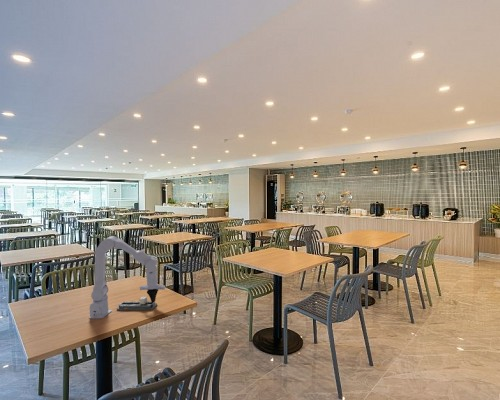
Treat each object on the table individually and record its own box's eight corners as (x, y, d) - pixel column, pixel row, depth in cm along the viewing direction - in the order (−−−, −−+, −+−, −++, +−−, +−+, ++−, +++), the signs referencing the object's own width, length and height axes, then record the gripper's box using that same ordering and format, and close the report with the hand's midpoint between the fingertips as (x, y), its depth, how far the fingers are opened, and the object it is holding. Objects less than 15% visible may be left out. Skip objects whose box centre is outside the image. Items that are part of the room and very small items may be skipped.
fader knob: (144, 306, 162) (144, 298, 162) (139, 306, 163) (139, 298, 162) (147, 304, 166) (147, 296, 166) (142, 304, 166) (142, 296, 166)
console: (151, 310, 160) (151, 306, 160) (116, 310, 162) (116, 306, 162) (157, 305, 168) (157, 300, 168) (123, 305, 170) (123, 300, 170)
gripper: (166, 276, 167) (168, 298, 167) (143, 276, 168) (144, 299, 168) (161, 280, 160) (163, 303, 160) (137, 280, 161) (138, 304, 161)
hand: (153, 301), depth 164 cm, fingers closed
